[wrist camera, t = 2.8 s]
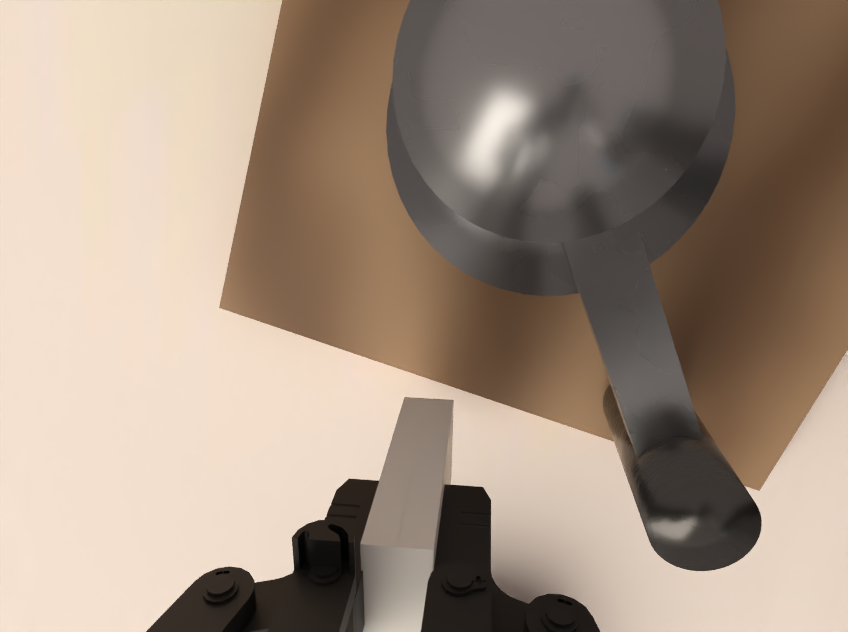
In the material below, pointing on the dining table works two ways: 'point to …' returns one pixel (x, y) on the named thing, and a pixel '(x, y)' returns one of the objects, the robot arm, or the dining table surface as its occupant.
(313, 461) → the dining table surface
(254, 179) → the stand board
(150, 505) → the dining table surface
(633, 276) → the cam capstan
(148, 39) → the dining table surface
